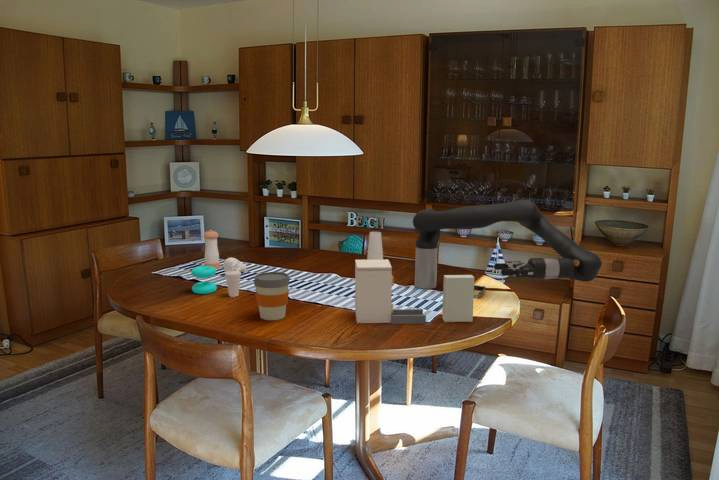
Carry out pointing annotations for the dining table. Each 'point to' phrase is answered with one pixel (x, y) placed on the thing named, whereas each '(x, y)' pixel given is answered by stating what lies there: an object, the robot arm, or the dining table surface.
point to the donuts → (204, 286)
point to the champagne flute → (375, 246)
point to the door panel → (458, 298)
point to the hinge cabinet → (379, 295)
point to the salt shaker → (211, 249)
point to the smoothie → (233, 281)
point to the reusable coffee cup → (272, 294)
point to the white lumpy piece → (234, 265)
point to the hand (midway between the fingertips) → (498, 269)
